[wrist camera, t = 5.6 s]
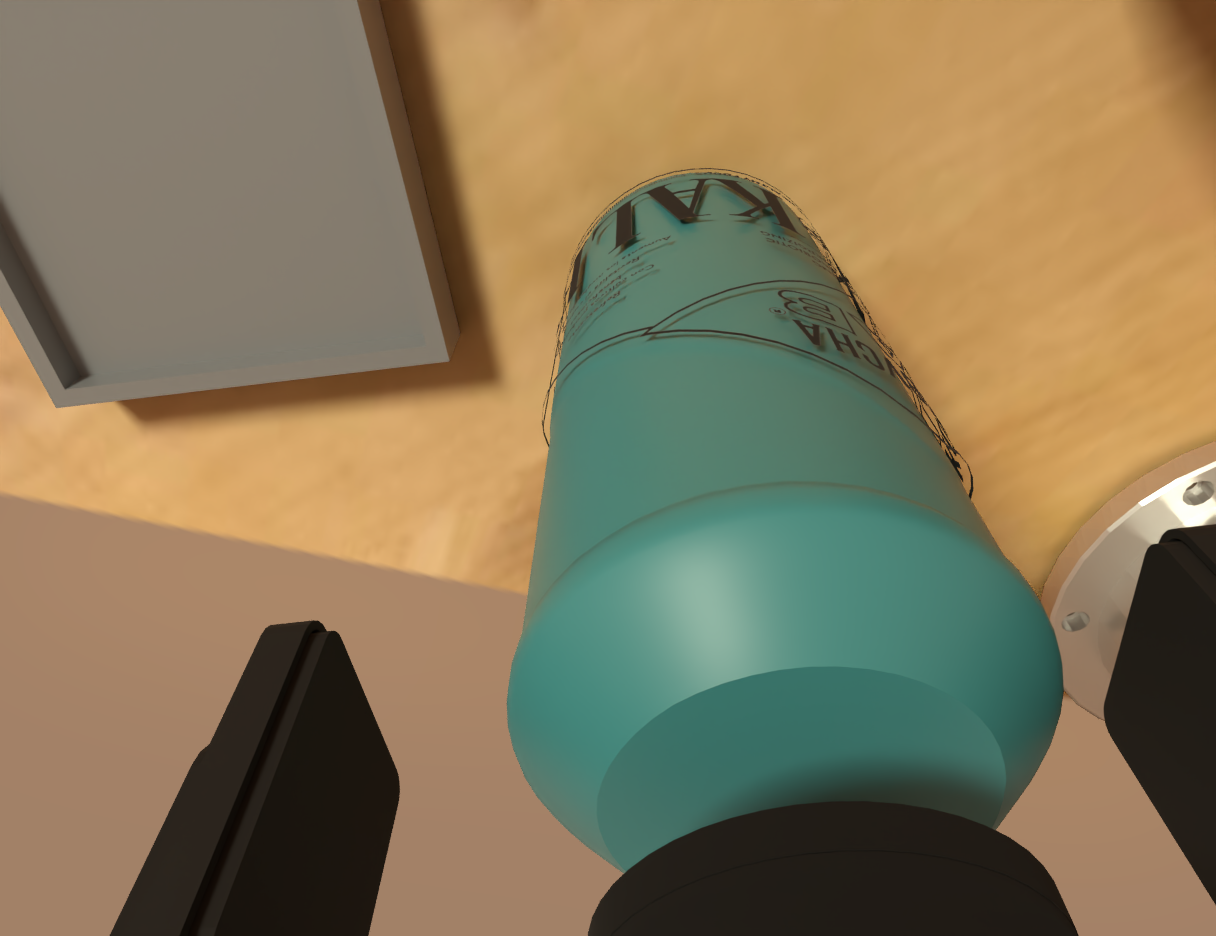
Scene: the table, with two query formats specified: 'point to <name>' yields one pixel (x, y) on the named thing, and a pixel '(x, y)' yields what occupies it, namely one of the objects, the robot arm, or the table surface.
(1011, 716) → the beverage bottle
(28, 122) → the tray
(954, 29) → the table surface
